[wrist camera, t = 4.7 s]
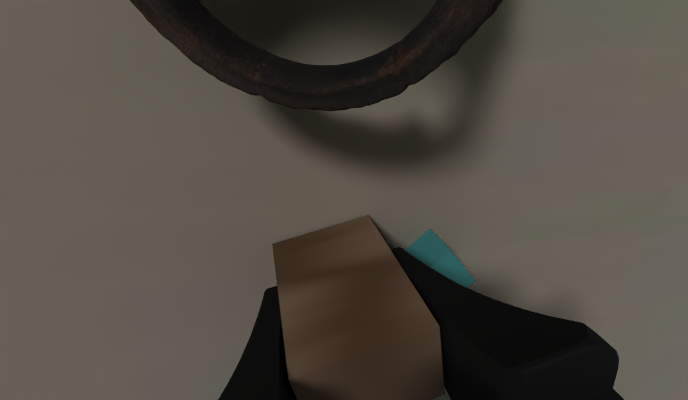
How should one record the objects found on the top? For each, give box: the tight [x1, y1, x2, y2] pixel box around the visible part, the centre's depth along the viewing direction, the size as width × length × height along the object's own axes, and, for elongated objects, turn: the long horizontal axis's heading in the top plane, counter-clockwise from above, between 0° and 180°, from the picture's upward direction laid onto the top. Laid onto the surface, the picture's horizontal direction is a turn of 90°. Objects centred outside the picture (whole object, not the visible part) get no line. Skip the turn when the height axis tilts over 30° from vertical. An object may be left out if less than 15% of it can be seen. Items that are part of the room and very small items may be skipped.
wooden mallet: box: [272, 216, 445, 400], centre depth 14 cm, size 4×10×6 cm, turn 12°
